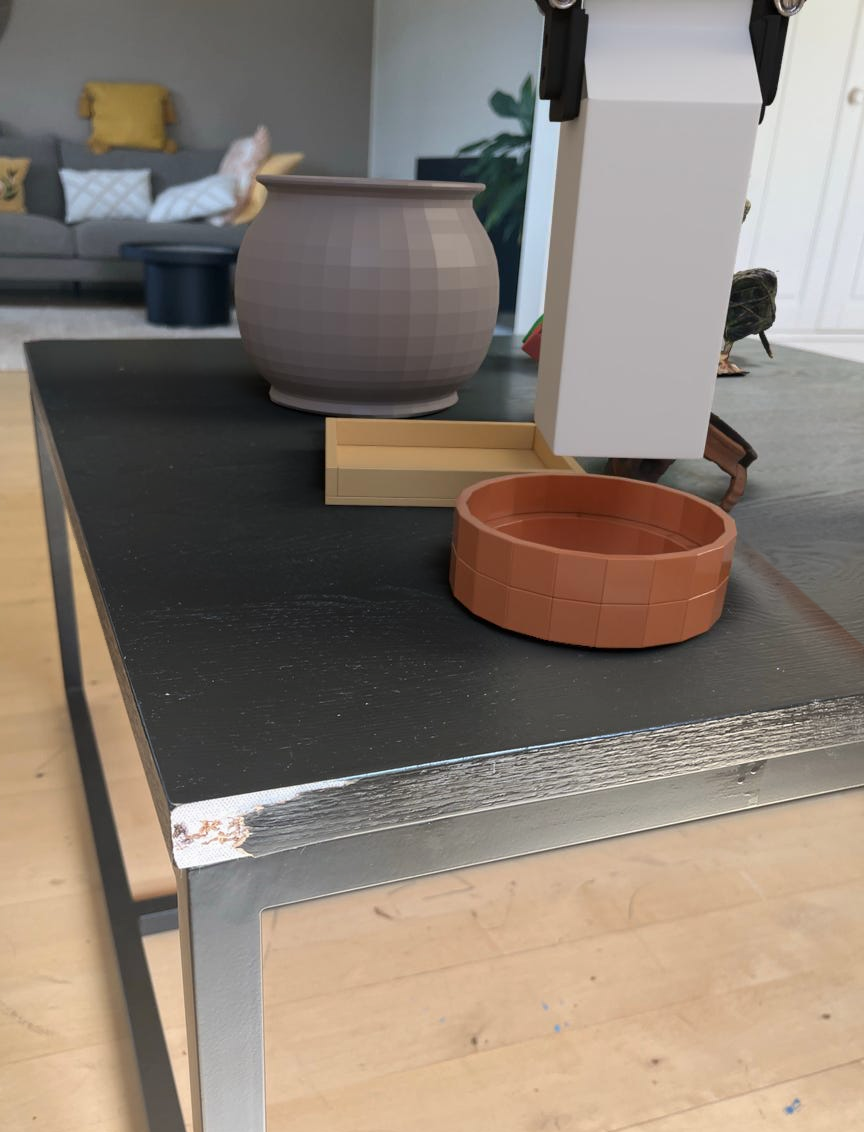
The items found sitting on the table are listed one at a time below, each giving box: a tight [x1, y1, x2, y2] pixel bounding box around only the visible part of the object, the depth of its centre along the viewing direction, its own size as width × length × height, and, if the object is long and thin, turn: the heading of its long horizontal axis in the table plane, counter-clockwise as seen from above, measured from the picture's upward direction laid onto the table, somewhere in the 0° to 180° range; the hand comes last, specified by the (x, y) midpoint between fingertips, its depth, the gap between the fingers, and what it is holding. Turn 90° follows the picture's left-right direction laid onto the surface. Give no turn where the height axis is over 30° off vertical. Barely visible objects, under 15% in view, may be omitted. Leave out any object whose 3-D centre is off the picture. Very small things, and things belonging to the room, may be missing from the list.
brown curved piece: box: [601, 411, 759, 514], centre depth 69 cm, size 12×10×8 cm
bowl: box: [448, 472, 738, 649], centre depth 52 cm, size 14×14×5 cm
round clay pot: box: [234, 173, 500, 419], centre depth 93 cm, size 25×25×20 cm
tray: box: [324, 417, 587, 508], centre depth 73 cm, size 18×15×3 cm
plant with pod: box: [717, 197, 779, 375], centre depth 115 cm, size 8×11×20 cm
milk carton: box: [533, 0, 763, 461], centre depth 46 cm, size 7×7×19 cm
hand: (653, 120), depth 43 cm, fingers closed on milk carton, 7 cm apart
